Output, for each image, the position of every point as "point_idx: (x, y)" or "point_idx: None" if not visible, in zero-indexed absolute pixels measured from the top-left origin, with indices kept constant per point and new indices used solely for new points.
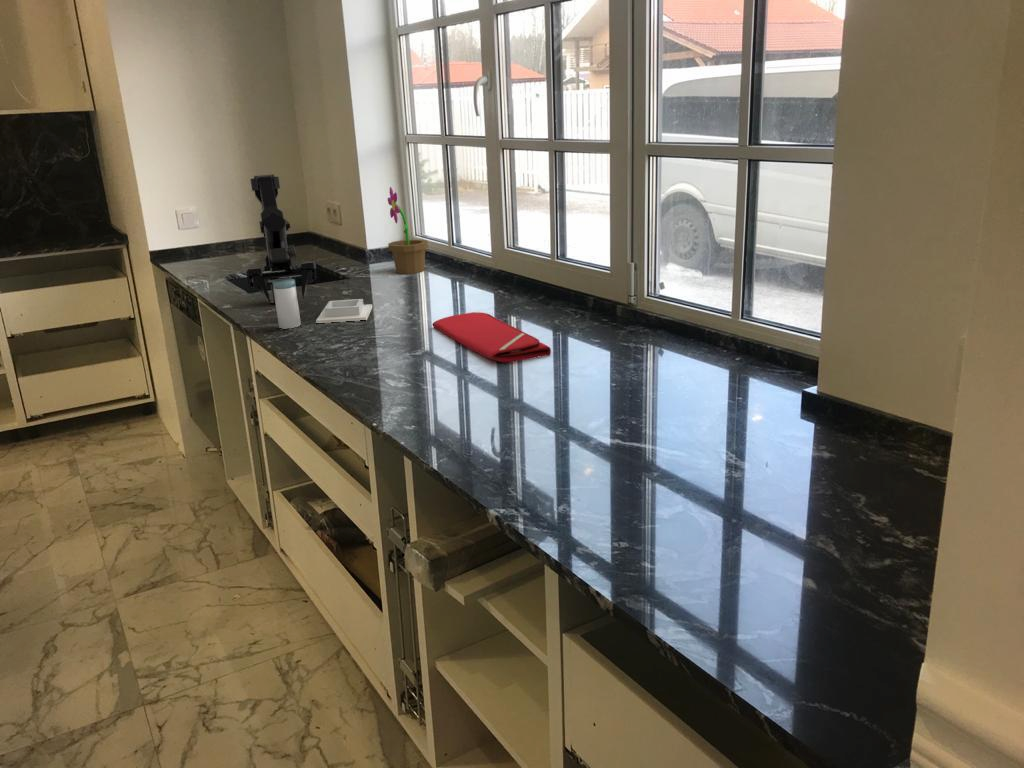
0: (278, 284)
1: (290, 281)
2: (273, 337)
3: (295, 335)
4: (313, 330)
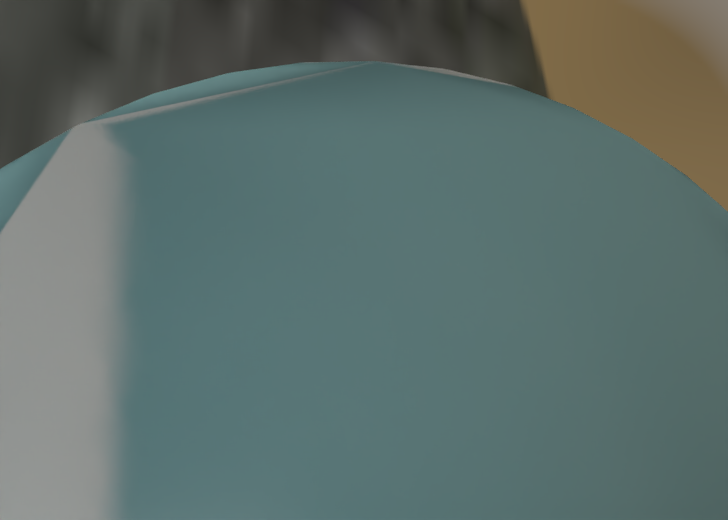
0: (618, 158)
1: (26, 297)
2: (454, 67)
3: (257, 23)
4: (58, 116)
